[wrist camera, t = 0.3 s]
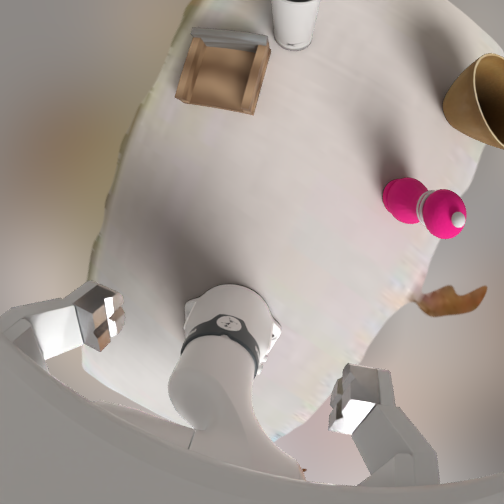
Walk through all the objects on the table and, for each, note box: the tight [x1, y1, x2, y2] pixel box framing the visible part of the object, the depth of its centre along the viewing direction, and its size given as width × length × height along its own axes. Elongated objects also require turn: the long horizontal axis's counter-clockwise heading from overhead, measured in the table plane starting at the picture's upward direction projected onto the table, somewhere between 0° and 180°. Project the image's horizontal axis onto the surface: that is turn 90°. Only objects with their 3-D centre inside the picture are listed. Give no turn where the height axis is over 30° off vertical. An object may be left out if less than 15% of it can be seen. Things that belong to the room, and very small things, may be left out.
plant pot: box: [443, 53, 504, 149], centre depth 29 cm, size 15×15×16 cm
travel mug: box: [271, 0, 321, 51], centre depth 28 cm, size 6×7×20 cm
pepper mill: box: [383, 178, 466, 239], centre depth 34 cm, size 7×7×20 cm
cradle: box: [175, 28, 271, 115], centre depth 37 cm, size 12×12×7 cm
